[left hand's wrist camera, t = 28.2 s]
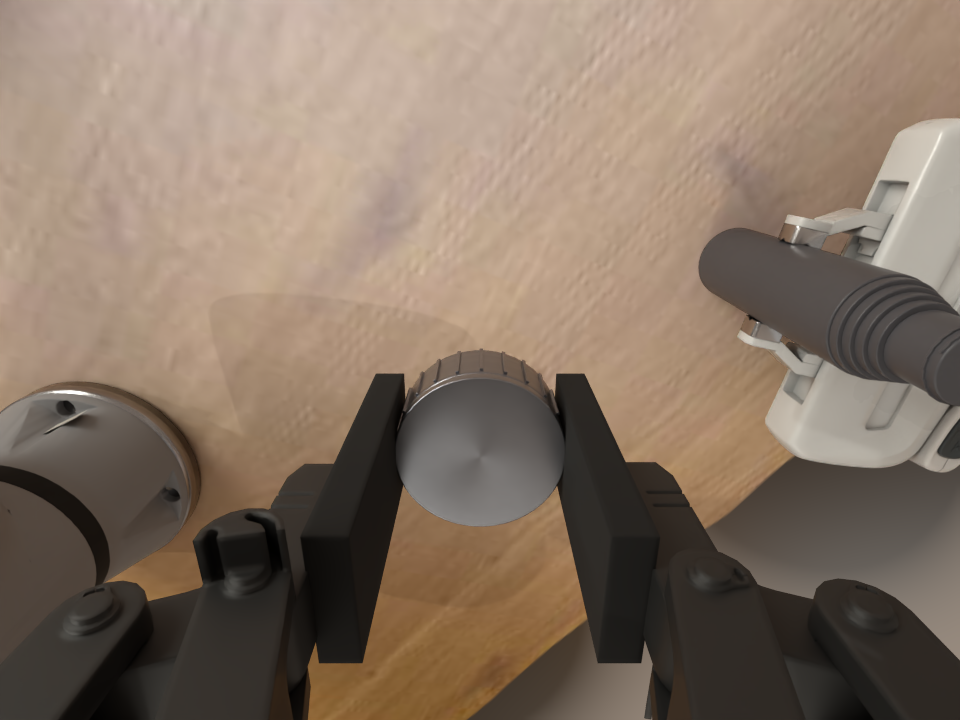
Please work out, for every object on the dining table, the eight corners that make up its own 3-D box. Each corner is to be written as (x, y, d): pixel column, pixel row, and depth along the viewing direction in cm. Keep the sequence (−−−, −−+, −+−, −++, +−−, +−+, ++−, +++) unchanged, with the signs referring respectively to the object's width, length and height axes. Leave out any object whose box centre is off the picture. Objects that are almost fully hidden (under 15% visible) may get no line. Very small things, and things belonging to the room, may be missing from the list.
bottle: (782, 250, 37) (1079, 348, 19) (736, 308, 38) (971, 450, 20) (728, 214, 36) (987, 279, 18) (684, 274, 37) (880, 391, 19)
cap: (546, 333, 14) (555, 360, 12) (568, 472, 15) (579, 514, 14) (385, 363, 14) (371, 393, 12) (422, 496, 16) (415, 540, 14)
